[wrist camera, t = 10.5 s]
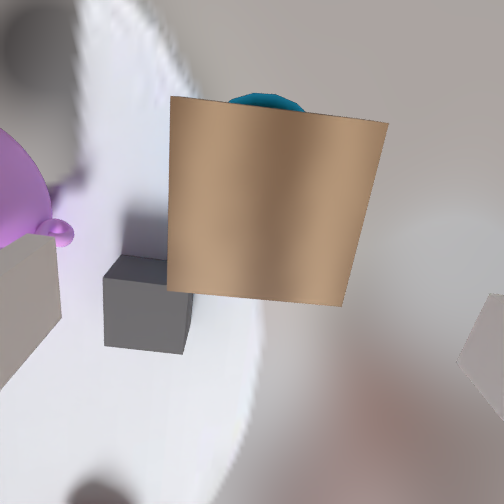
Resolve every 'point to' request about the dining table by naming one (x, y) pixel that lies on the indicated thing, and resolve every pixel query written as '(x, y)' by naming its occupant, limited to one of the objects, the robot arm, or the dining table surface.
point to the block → (266, 200)
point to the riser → (144, 307)
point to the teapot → (25, 198)
